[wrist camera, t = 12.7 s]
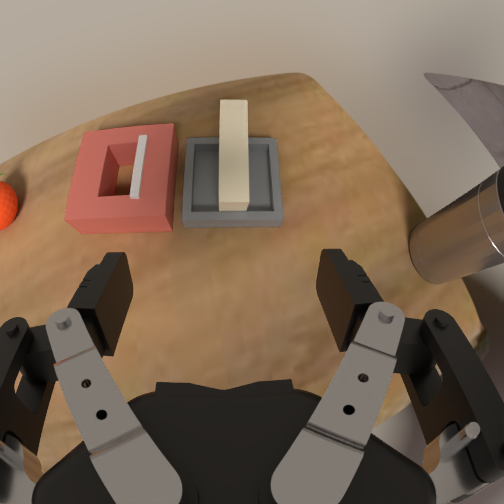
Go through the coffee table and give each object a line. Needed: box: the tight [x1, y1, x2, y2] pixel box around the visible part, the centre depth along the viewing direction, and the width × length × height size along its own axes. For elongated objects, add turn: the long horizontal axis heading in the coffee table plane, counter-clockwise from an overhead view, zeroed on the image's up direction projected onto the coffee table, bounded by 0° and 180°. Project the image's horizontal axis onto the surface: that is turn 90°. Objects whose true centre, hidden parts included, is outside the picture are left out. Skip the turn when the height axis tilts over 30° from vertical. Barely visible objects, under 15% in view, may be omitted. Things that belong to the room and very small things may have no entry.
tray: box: [182, 137, 283, 228], centre depth 36 cm, size 11×11×2 cm
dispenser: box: [64, 123, 179, 234], centre depth 33 cm, size 12×12×6 cm
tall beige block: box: [219, 100, 249, 211], centre depth 33 cm, size 3×6×12 cm
